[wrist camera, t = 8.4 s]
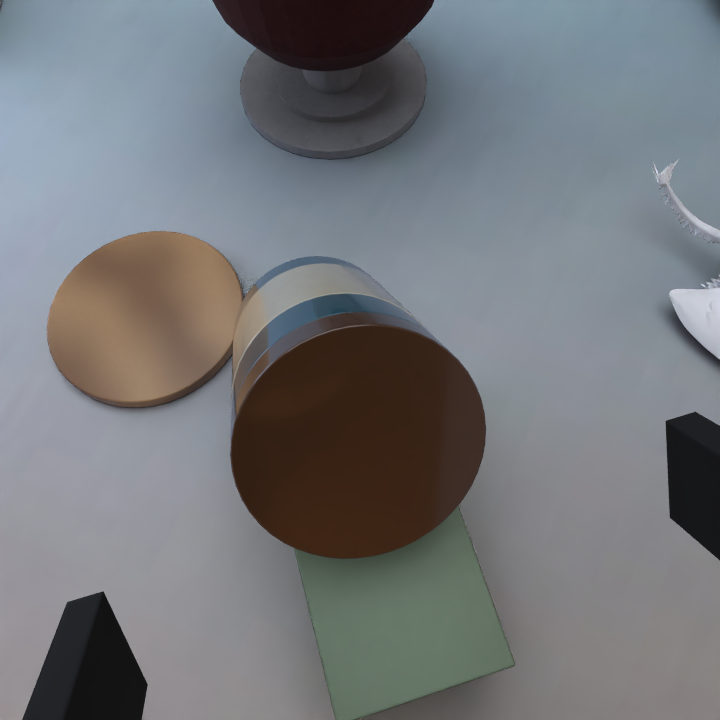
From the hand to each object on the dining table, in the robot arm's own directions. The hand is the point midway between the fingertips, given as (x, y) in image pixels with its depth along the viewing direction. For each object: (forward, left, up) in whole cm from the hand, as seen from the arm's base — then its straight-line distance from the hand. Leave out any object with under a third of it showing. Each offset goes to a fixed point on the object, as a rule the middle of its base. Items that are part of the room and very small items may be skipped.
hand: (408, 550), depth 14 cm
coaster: (+5, +19, -15) cm, 25 cm away
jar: (+5, +6, -15) cm, 17 cm away
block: (0, 0, -15) cm, 15 cm away
